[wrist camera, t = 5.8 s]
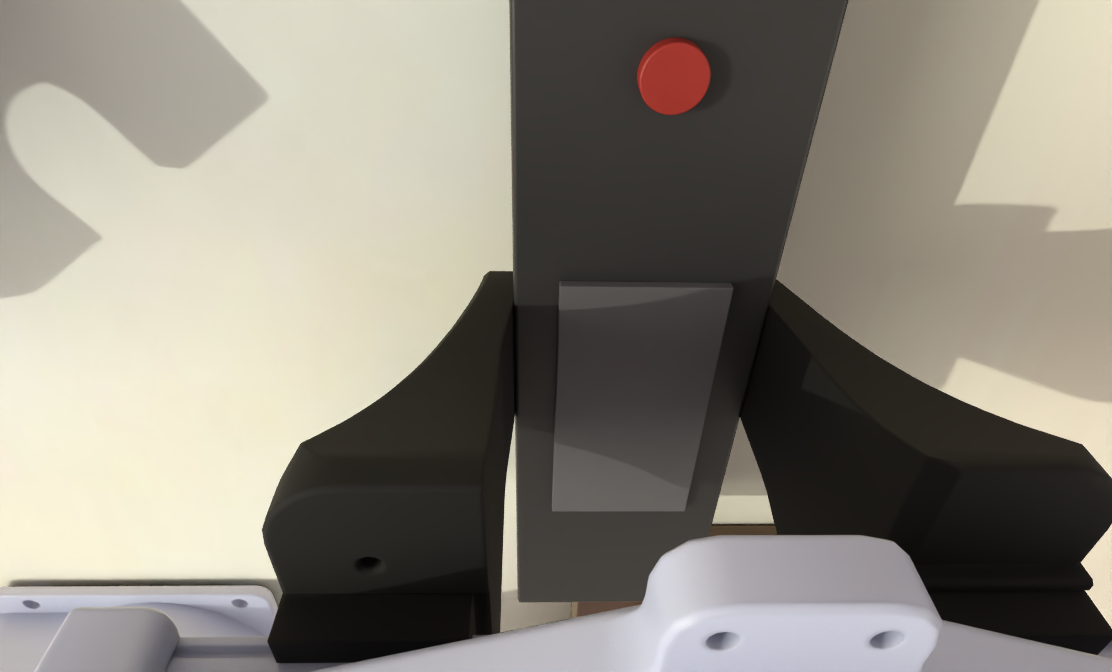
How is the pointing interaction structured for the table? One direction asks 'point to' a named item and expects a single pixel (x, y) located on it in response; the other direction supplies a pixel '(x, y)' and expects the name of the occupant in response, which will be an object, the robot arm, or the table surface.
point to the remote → (645, 263)
